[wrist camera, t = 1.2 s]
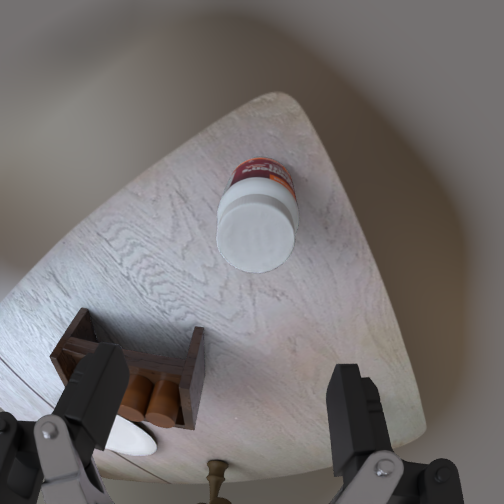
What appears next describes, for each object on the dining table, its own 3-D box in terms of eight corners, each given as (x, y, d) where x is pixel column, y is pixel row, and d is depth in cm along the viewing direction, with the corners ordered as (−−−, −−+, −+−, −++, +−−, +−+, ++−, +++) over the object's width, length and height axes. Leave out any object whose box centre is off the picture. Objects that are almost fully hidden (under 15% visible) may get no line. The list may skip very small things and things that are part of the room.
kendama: (238, 460, 61) (232, 535, 44) (219, 469, 65) (211, 537, 48) (216, 454, 60) (206, 531, 42) (198, 463, 64) (187, 532, 46)
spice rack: (81, 307, 39) (42, 368, 29) (204, 327, 39) (185, 404, 29) (96, 354, 44) (68, 412, 34) (205, 374, 44) (192, 443, 34)
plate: (41, 389, 54) (38, 394, 52) (125, 399, 50) (122, 406, 49) (95, 444, 66) (93, 448, 64) (175, 455, 62) (173, 461, 61)
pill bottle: (299, 163, 29) (315, 205, 19) (284, 221, 32) (291, 287, 22) (234, 150, 28) (215, 185, 18) (224, 209, 31) (203, 270, 21)
